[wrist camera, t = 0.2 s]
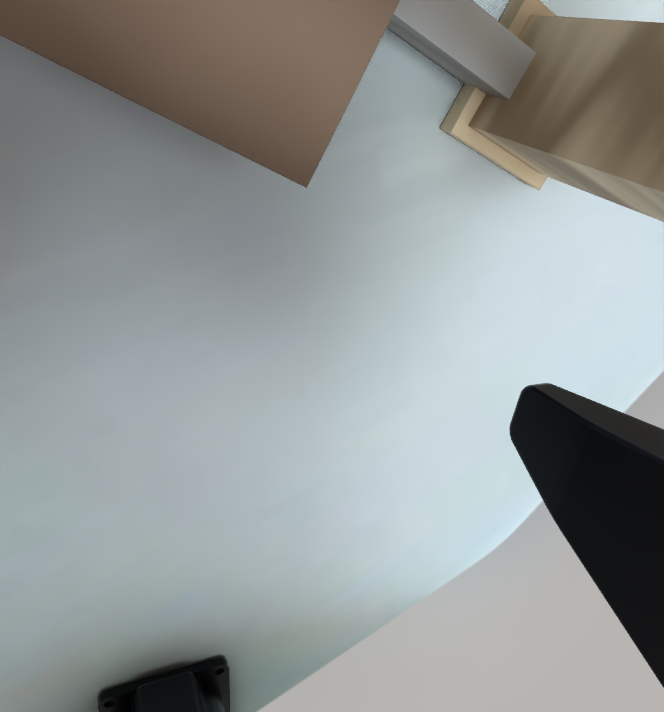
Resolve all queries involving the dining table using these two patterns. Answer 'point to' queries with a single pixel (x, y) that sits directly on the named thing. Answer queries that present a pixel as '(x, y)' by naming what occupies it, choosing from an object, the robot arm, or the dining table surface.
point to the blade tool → (552, 94)
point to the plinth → (218, 64)
